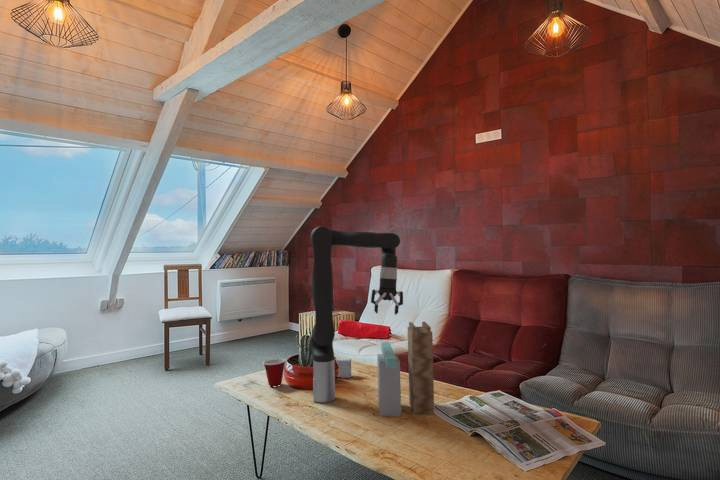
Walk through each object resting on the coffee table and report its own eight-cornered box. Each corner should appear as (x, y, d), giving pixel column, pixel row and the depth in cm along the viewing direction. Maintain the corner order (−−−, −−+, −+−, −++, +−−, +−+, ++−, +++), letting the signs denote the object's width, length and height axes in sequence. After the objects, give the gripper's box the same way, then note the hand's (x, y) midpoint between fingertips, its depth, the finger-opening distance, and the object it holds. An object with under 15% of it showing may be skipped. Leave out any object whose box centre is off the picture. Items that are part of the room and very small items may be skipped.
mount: (413, 415, 163) (411, 328, 164) (409, 403, 175) (407, 322, 176) (434, 414, 164) (432, 327, 164) (428, 402, 176) (426, 321, 176)
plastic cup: (275, 380, 209) (274, 356, 209) (290, 384, 203) (290, 359, 203) (258, 386, 200) (257, 361, 200) (274, 390, 194) (273, 364, 194)
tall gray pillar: (380, 416, 163) (379, 362, 163) (378, 404, 175) (377, 354, 175) (401, 415, 163) (399, 361, 163) (397, 403, 175) (396, 353, 175)
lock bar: (387, 368, 155) (386, 358, 155) (381, 350, 181) (381, 342, 181) (396, 367, 156) (396, 358, 156) (389, 349, 181) (389, 341, 182)
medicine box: (351, 375, 214) (351, 358, 214) (350, 378, 210) (350, 360, 210) (336, 375, 215) (336, 358, 215) (335, 377, 211) (334, 360, 211)
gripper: (373, 276, 184) (371, 314, 183) (405, 278, 184) (403, 315, 184) (371, 276, 191) (369, 311, 190) (402, 278, 192) (400, 313, 191)
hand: (386, 313), depth 187 cm, fingers open, 8 cm apart
